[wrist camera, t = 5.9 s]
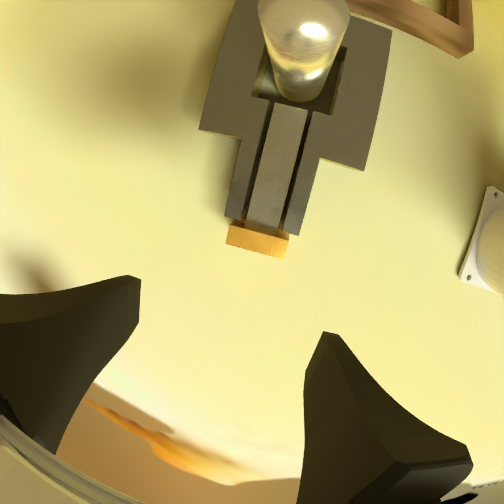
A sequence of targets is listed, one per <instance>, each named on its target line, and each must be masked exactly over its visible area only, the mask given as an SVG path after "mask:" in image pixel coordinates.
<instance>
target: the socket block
mask: <svg viewBox="0 0 504 504" xmlns="http://www.w3.org/2000/svg"><path fill="white" fill-rule="evenodd" d="M258 2H259V0H236V3H235V6H234V9H233V11H232V14H231V17H230V20H229V23H228V26H227V29H226V32H225V36H224V39H223V42H222V45H221V48H220V52H219V55H218V58H217V62H216V65H215V69H214V72H213V76H212V79H211V83H210V86H209V90H208V94H207V98H206V102H205V106H204V109H203V113H202V118H201V122H200V126H199V130H201V131H204V132H207V133H210V134H216V135H221V136H226V137H231V138H236V139H241V144H240V148H239V152H238V157H237V161H236V165H235V169H234V174H233V178H232V182H231V187H230V191H229V196H228V200H227V205H226V209H225V214H224V216H226V217H230V218H233V219H237V220H241V218H242V217H243V216H244V215H245V214H246V213H247V208H248V204H249V200H250V196H251V192H252V188H253V183H254V179H255V175H256V171H257V167H258V163H259V159H260V155H261V151H262V147H263V143H264V139H265V135H266V131H267V127H268V123H269V119H270V115H271V111H272V106H271V103H270V101H269V100H267V99H262V98H258V95H259V91H260V87H261V83H262V80H263V76H264V72H265V68H266V65H267V61H268V57H269V53H268V49H267V45H266V41H265V37H264V34H263V30H262V26H261V22H260V19H259V15H258ZM391 36H392V30H390V29H387V28H385V27H382V26H379V25H376V24H374V23H371V22H368V21H365V20H362V19H359V18H356V17H353V16H350V20H349V23H348V26H347V29H346V31H345V34H344V36H343V39H342V41H341V44H340V46H339V49H338V51H337V54H336V56H335V59H338V60H341V64H340V68H339V73H338V77H337V82H336V86H335V90H334V95H333V99H332V103H331V108H330V112H329V115H327V114H323V113H320V112H316V111H313V113H312V116H311V119H310V123H309V127H308V131H307V135H306V139H305V143H304V147H303V151H302V155H301V159H300V162H299V166H298V170H297V174H296V178H295V182H294V185H293V189H292V193H291V197H290V201H289V204H288V208H287V212H286V216H285V219H284V223H283V230H282V231H283V232H286V233H290V234H294V235H297V236H299V232H300V229H301V225H302V222H303V218H304V215H305V211H306V208H307V204H308V200H309V197H310V193H311V189H312V186H313V182H314V178H315V174H316V171H317V167H318V163H319V159H321V160H324V161H327V162H331V163H334V164H337V165H340V166H344V167H347V168H350V169H353V170H358V171H364V169H365V165H366V161H367V157H368V153H369V149H370V145H371V141H372V137H373V133H374V128H375V124H376V120H377V115H378V110H379V106H380V101H381V96H382V91H383V85H384V80H385V74H386V69H387V63H388V56H389V50H390V43H391Z"/></svg>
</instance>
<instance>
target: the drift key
mask: <svg viewBox="0 0 504 504" xmlns="http://www.w3.org/2000/svg"><path fill="white" fill-rule="evenodd" d="M307 113H308V110H304V109H301V108H297V107H293V106H289V105H284V104H280V103H276V102H275V104H274V108H273V112H272V116H271V120H270V124H269V128H268V132H267V136H266V140H265V144H264V148H263V152H262V156H261V160H260V164H259V169H258V173H257V177H256V181H255V185H254V189H253V193H252V197H251V201H250V206H249V210H248V214H247V218H246V220H245V219H241V220H237V219H235V220H234V221H233V222H232V223H231V224H230V226H229V230H228V235H227V239H226V244H228V245H232V246H236V247H239V248H243V249H247V250H251V251H254V252H258V253H262V254H265V255H269V256H273V257H276V258H280V259H284V255H285V252H286V248H287V245H288V241H289V233H286V232H283V231H282V230H283V229H279V228H278V225H279V222H280V218H281V214H282V210H283V207H284V203H285V199H286V195H287V192H288V188H289V184H290V180H291V176H292V172H293V168H294V165H295V161H296V157H297V153H298V149H299V145H300V141H301V137H302V133H303V129H304V125H305V121H306V117H307Z"/></svg>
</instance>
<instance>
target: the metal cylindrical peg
mask: <svg viewBox="0 0 504 504" xmlns="http://www.w3.org/2000/svg"><path fill="white" fill-rule="evenodd" d="M258 15H259V19H260V22H261V26H262V30H263V34H264V37H265V41H266V45H267V49H268V53H269V57H270V61H271V66H272V70H273V74H274V78H275V83H276V86H277V89H278V90H279V92H280V93H281V94H282V95H283V96H284V97H285V98H287V99H289V100H291V101H294V102H307V101H310V100H313V99H314V98H316V97H317V96H318V95H319V94H320V92H321V91H322V88H323V86H324V83H325V81H326V78H327V76H328V73H329V71H330V69H331V66H332V64H333V61H334V59H335V56H336V54H337V51H338V49H339V46H340V44H341V41H342V39H343V36H344V34H345V31H346V29H347V26H348V23H349V20H350V11H349V7H348V5H347V3H346V1H345V0H259V2H258Z"/></svg>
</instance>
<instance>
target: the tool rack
mask: <svg viewBox="0 0 504 504" xmlns="http://www.w3.org/2000/svg"><path fill="white" fill-rule="evenodd" d="M345 1H346V3H347V5H348V7H349V11H350V12H353V13H356V14H359V15H362V16H365V17H368V18H371V19H374V20H377V21H379V22H382V23H385V24H387V25H390V26H392V27H395V28H397V29H400V30H402V31H404V32H407V33H409V34H411V35H413V36H415V37H418V38H420V39H422V40H424V41H426V42H428V43H430V44H432V45H434V46H436V47H438V48H440V49H442V50H443V51H445V52H447V53H449V54H451V55H452V56H454V57H456V58H458V59H459V58H460V57H462V56H464V55H466V54H468V53H470V52H471V51H473V50H474V35H473V14H472V2H471V0H446V18H445V17H443V16H441V15H439V14H437V13H435V12H433V11H431V10H430V9H427V8H425V7H423V6H421V5H419V4H417V3H415V2H413V1H410V0H345Z"/></svg>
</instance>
